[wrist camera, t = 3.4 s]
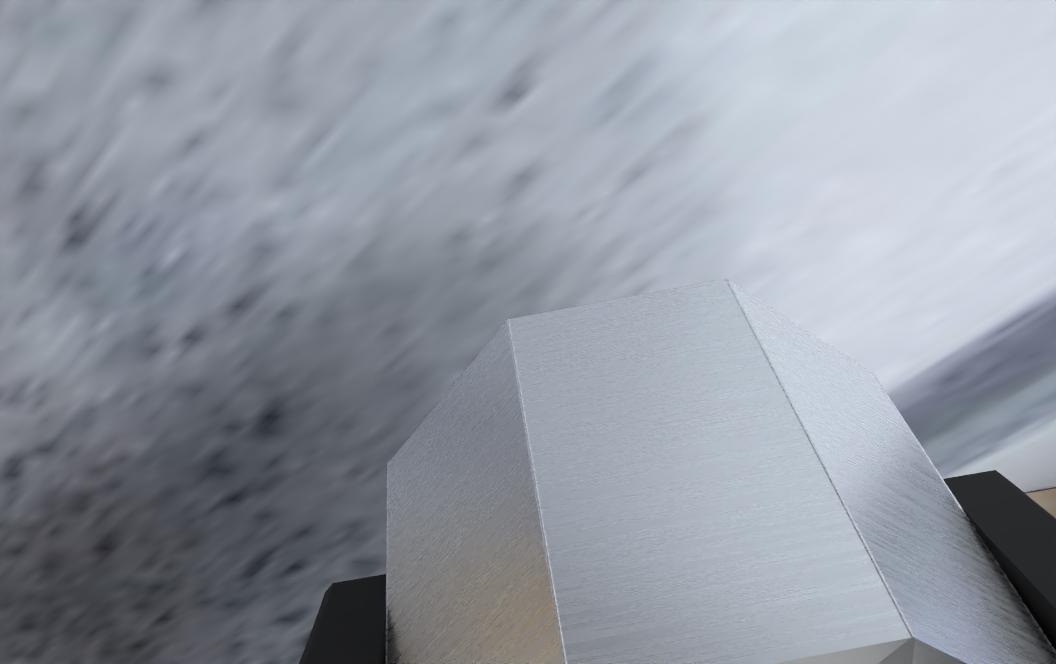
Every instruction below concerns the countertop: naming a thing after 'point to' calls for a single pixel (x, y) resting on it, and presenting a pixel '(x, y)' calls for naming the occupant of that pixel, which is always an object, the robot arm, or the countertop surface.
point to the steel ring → (682, 504)
